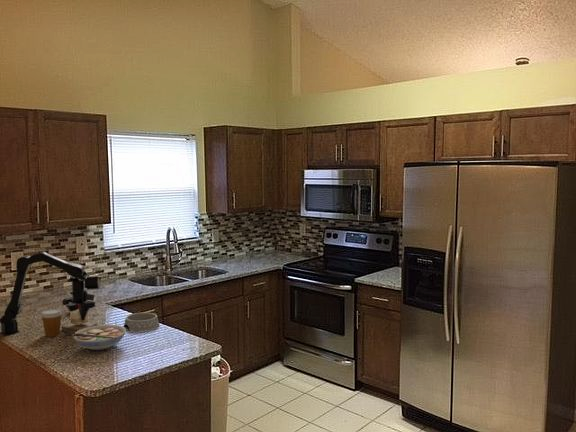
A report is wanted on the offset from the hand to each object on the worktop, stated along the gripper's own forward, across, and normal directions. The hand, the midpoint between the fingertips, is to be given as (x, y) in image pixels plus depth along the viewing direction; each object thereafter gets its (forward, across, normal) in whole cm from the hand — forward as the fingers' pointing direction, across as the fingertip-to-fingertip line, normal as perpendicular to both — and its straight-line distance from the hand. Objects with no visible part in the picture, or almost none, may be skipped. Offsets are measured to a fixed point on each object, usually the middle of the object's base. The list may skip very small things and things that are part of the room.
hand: (79, 319), depth 254 cm
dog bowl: (+6, -24, -20) cm, 32 cm away
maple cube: (+2, 0, 0) cm, 2 cm away
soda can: (+5, +30, -23) cm, 38 cm away
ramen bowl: (+5, -32, +13) cm, 35 cm away
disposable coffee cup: (+5, +3, +13) cm, 14 cm away
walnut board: (+5, 0, 0) cm, 5 cm away
